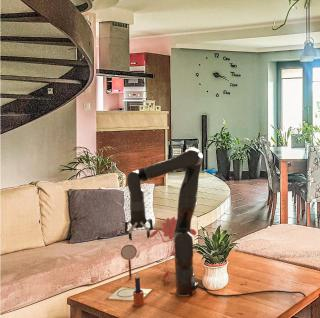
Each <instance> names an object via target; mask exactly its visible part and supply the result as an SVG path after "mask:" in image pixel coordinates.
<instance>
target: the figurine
mask: <svg viewBox="0 0 320 318" xmlns="http://www.w3.org/2000/svg"><path fill="white" fill-rule="evenodd" d="M176 224H177V218H176V217H175V216H173V217H171V218H169V217H166V219H165V222H162V228H161V230H160V229H159V228H157V229H155V230H154V231H153V232H151V233H150V237H149V239H152V238H153V237H155V236H156V235H157V234H159V237H160V238H161V240H162V243H168V242H171V241H174V240H173V236H174V232H175V228H176ZM161 233H163V236H162V234H161ZM196 235H197V231H196V229H193V228H191V236H196ZM164 237H165V238H167V237H168V239H169V240H164ZM170 253H171V254H170V256H169V257H167V258H166V260H165V267H166V269H168V262H167V261H168V260H169V259H170V257H175V244H173V249H172V251H171V252H170ZM170 273H171V272H170V270H166V272H165V273H162V274H161V276H162V275H163V278H162V279H163V280H166V278H167V281H168V283H171V282H170V281H171V280H170ZM159 277H160V275H158V276H157V278H159Z"/></svg>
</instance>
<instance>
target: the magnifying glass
mask: <svg viewBox="0 0 320 318" xmlns="http://www.w3.org/2000/svg"><path fill="white" fill-rule="evenodd" d="M137 252H138V250H137V248H136V246H134V245H133V244H125V245H124V246H123V247H122V248H121V250H120V255H121V257H122V258H123V259H124V260H126V261H128V275H129V276H128V277H129V279H130V280H131V279H132V262H131V261H132V260H133V259H134V258H136V256H137V254H138V253H137Z"/></svg>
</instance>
